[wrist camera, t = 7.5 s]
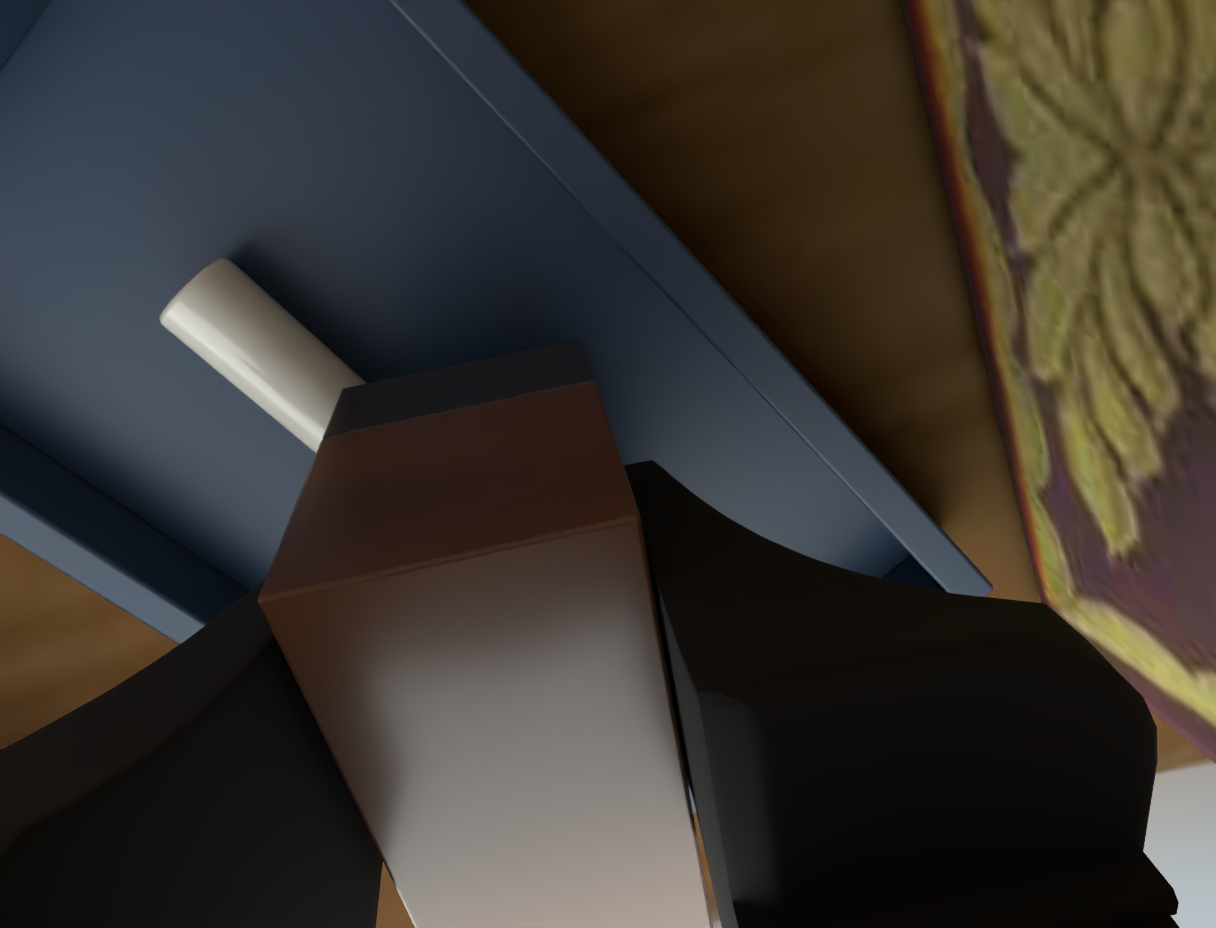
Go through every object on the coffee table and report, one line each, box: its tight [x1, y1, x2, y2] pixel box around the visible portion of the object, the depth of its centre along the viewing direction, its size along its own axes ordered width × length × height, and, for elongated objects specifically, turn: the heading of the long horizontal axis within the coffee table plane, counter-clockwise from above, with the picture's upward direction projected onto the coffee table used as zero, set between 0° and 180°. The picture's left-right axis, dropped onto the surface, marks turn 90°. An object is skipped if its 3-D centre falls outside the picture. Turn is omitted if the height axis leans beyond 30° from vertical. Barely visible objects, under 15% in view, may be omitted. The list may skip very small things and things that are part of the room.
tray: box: [0, 0, 993, 814], centre depth 12 cm, size 9×15×2 cm, turn 44°
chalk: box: [159, 257, 367, 453], centre depth 11 cm, size 1×3×1 cm, turn 41°
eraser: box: [258, 340, 713, 928], centre depth 10 cm, size 6×3×4 cm, turn 10°
